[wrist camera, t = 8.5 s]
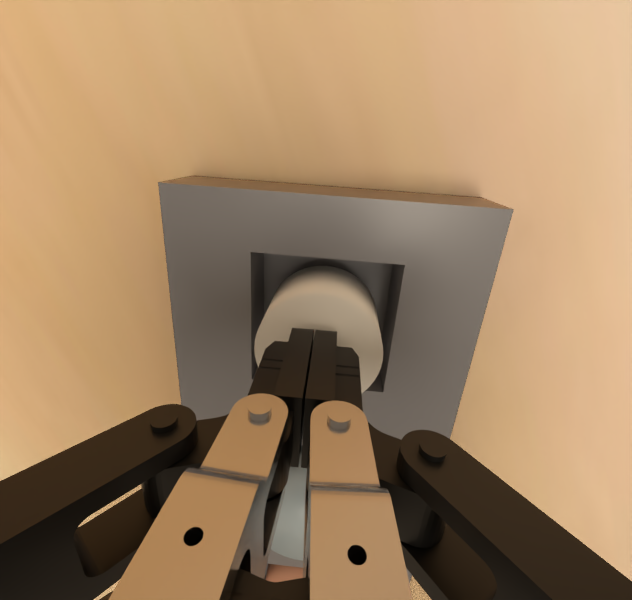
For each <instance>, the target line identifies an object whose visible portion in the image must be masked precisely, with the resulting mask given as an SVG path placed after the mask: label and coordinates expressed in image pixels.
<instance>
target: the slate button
mask: <svg viewBox="0 0 632 600" xmlns="http://www.w3.org/2000/svg"><path fill="white" fill-rule="evenodd" d="M301 458H302V445H301V452H300V460H299V467H290V470H289V476H288V481H287V484H286V486H285V495H284V499H283V503H282V507H281V511H280V515H279V519H278V523H277V527H276V530H275V534H274V538H273V542H272V546H271V550H273V551H275V552H276V553H278V554H280V555H283V556H285V557H288V558H291V559H295V560H301V561H303V548H304V511H305V489H306V475H307V468H301Z"/></svg>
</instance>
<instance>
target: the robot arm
mask: <svg viewBox="0 0 632 600" xmlns="http://www.w3.org/2000/svg"><path fill="white" fill-rule="evenodd" d="M313 338H314V343H313ZM302 438H303V441H302ZM301 445H302V458H301V468H307V475H306V489H305V511H304V548H303V578H299V579H293V580H287V581H282V582H270V581H267V580H265V579H264V577H265V571H266V566H267V562H268V558H269V554H270V550H271V546H272V542H273V538H274V534H275V530H276V527H277V523H278V519H279V515H280V511H281V507H282V503H283V499H284V495H285V486H286V484H287V481H288V476H289V470H290V467H299V460H300V452H301ZM140 484H141V486H142V489H140V490H139V491H137V492H135V493H134V494H132V495H131V496H129V497H127V498H126V499H124V500H123V501H121V502H119V503H118V504H116V505H115V506H113V507H111V508H110V509H108V510H106V511H105V512H103V513H102V514H100V515H98V516H97V517H95V518H94V519H92V520H90V521H89V522H87V523H86V524H84V525H82V526H80V527H78V526H79V525H80V524H81V522H82V521H83V520H84V519H86V518H87V517H88V516H90V515H91V514H93V513H94V512H96V511H98V510H99V509H101V508H102V507H104V506H106V505H107V504H109V503H111V502H112V501H114V500H116V499H117V498H119V497H120V496H122V495H124V494H125V493H127V492H129V491H130V490H132V489H134V488H135V487H137V486H138V485H140ZM77 527H78V528H77ZM406 568H407V569H408V571H409V572H410V573H411V574H412V576H413V577H414V578H415V579H416V581H417V582H418V583H419V584H420V586H421V587H422V588H423V589H424V590H425V592H426V593H427V594H428V595H429V597H430V598H431V599H432V600H632V581H630V580H629V579H628V578H627V577H625V576H624V575H623V574H621V573H620V572H619V571H618V570H616V569H615V568H614V567H612V566H611V565H610V564H609V563H607V562H606V561H605V560H604V559H602V558H601V557H600V556H598V555H597V554H596V553H595V552H593V551H592V550H591V549H590V548H588V547H587V546H586V545H584V544H583V543H582V542H581V541H579V540H578V539H577V538H575V537H574V536H573V535H572V534H570V533H569V532H568V531H567V530H565V529H564V528H563V527H561V526H560V525H559V524H558V523H556V522H555V521H554V520H553V519H551V518H550V517H549V516H547V515H546V514H545V513H544V512H542V511H541V510H540V509H538V508H537V507H536V506H535V505H533V504H532V503H531V502H530V501H528V500H527V499H526V498H524V497H523V496H522V495H521V494H519V493H518V492H517V491H515V490H514V489H513V488H512V487H510V486H509V485H508V484H507V483H505V482H504V481H503V480H501V479H500V478H499V477H498V476H496V475H495V474H494V473H493V472H491V471H490V470H489V469H487V468H486V467H485V466H484V465H482V464H481V463H480V462H478V461H477V460H476V459H475V458H473V457H472V456H471V455H470V454H468V453H467V452H466V451H464V450H463V449H462V448H461V447H459V446H458V445H457V444H455V443H454V442H453V441H452V440H450V439H449V438H447V437H446V436H444V435H442V434H440V433H437V432H434V431H430V430H414V431H411V432H409V433H407V434H406V435H405V436H404V437H403V438H402V440H401V439H398V438H395V437H393V436H390V435H387V434H385V433H383V432H381V431H379V430H377V429H376V428H374V427H373V426H372V425H371V424H370V423H369V422H368V421H367V418H366V416H365V414H364V413H363V407H362V392H361V378H360V364H359V356H358V355H357V354H356V352H355V351H354V350H353V348H350V347H339V346H337V331H326V330H315V337H314V329H302V328H292V330H291V333H290V337H289V340H288V342H283V341H274V342H273V343H272V344H270V345H269V346H268V347H267V348H265V351H264V354H263V356H262V360H261V361H260V364H259V368H258V369H257V372H256V374H255V377H254V380H253V382H252V385H251V388H250V390H249V393H248V395H247V396H246V397H244V398H242V399H240V400H239V401H237V402H236V403H235V405H234V406H233V407H232V409H231V411H230V413H229V414H227V415H225V416H221V417H216V418H210V419H203V420H196V415H195V413H194V412H193V411H192V410H191V409H190V408H188V407H186V406H183V405H178V404H168V405H162V406H158V407H155V408H153V409H150V410H148V411H146V412H144V413H142V414H140V415H138V416H136V417H134V418H132V419H130V420H127V421H125V422H123V423H121V424H119V425H117V426H115V427H113V428H111V429H109V430H107V431H104V432H102V433H100V434H98V435H96V436H94V437H92V438H90V439H88V440H86V441H84V442H81V443H79V444H77V445H75V446H73V447H71V448H69V449H67V450H65V451H63V452H61V453H58V454H56V455H54V456H52V457H50V458H48V459H46V460H44V461H42V462H40V463H37V464H35V465H33V466H31V467H29V468H27V469H25V470H23V471H21V472H19V473H17V474H14V475H12V476H10V477H8V478H6V479H4V480H2V481H0V600H93V599H95V598H96V597H97V596H99V595H100V594H101V593H102V592H104V591H105V590H106V589H108V588H109V587H110V586H112V585H113V584H114V583H116V582H117V581H118V580H119V579H120V581H119V583H118V584H117V586H116V588H115V589H114V591H112V592H110V593H109V594H107V595H106V596H104V597H103V598H101V599H100V600H413V598H412V593H411V589H410V584H409V579H408V575H407V570H406Z"/></svg>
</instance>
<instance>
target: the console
mask: <svg viewBox="0 0 632 600" xmlns="http://www.w3.org/2000/svg"><path fill="white" fill-rule="evenodd" d="M158 185H159V195H160V204H161V214H162V223H163V233H164V243H165V252H166V262H167V271H168V281H169V290H170V300H171V309H172V319H173V329H174V338H175V348H176V357H177V367H178V376H179V386H180V395H181V405H183V406H186V407H188V408H190V409H191V410H192V411H193V412H194V413H195V415H196V420H203V419H210V418H216V417H221V416H225V415H227V414H229V413H230V411H231V409H232V407H233V406H234V405H235V403H236V402H237V401H239V400H240V399H242V398H244V397H246V396H247V395H248V393H249V390H250V388H251V385H252V382H253V380H254V377H255V374H256V372H257V369H258V365H257V362H256V358H255V351H254V345H255V338H256V334H257V331H258V328H259V326H260V324H261V322H262V320H263V318H264V316H265V314H266V311H267V309H268V307H269V305H270V303H271V301H272V299H273V297H274V295H275V293H276V291H277V289H278V288H279V286H280V285H281V284H282V282H284V281H285V280H286V279H287V278H288V277H289V276H291V275H292V274H294V273H295V272H297V271H299V270H302V269H305V268H308V267H312V266H331V267H336V268H340V269H343V270H345V271H347V272H349V273H351V274H353V275H354V276H356V277H357V278H358V279H360V280H361V281H362V282H363V283H364V284H365V286H366V287H367V288H368V290H369V291H370V293H371V295H372V297H373V300H374V303H375V307H376V312H377V317H378V323H379V328H380V333H381V339H382V344H383V361H382V365H381V369H380V371H379V374H378V375H377V377H376V379H375V381H374V382H373V383H372V384H371V386H370V387H369V388H368V389H366V390H365V391H364V392H363V393H362V407H363V413H364V414H365V416H366V418H367V421H368V422H369V423H370V424H371V425H372V426H373V427H374V428H376V429H377V430H379V431H381V432H383V433H385V434H387V435H390V436H393V437H395V438H398V439H401V440H402V438H403V437H404V436H405V435H406V434H407V433H409V432H411V431H414V430H430V431H434V432H437V433H440V434H442V435H444V436H446V437H447V438H449V439H450V436H451V433H452V429H453V425H454V422H455V418H456V415H457V411H458V407H459V404H460V400H461V397H462V393H463V389H464V386H465V382H466V379H467V375H468V371H469V368H470V364H471V361H472V357H473V353H474V350H475V346H476V343H477V339H478V335H479V332H480V328H481V325H482V321H483V317H484V314H485V310H486V307H487V303H488V299H489V296H490V292H491V289H492V285H493V281H494V278H495V274H496V271H497V267H498V263H499V260H500V256H501V253H502V249H503V245H504V242H505V238H506V235H507V231H508V227H509V224H510V220H511V217H512V213H513V209H511V208H508V207H505V206H503V205H500V204H497V203H495V202H492V201H489V200H487V199H484V198H479V197H466V196H453V195H440V194H426V193H413V192H400V191H387V190H373V189H360V188H347V187H333V186H320V185H307V184H294V183H280V182H267V181H254V180H241V179H227V178H214V177H201V176H189V177H184V178H178V179H173V180H168V181H163V182H158ZM302 441H303V438H302ZM268 564H275V565H283V566H292V567H300V568H303V561H301V560H295V559H291V558H288V557H285V556H283V555H280V554H278V553H276V552H275V551H273V550H270V554H269V558H268V562H267V566H266V571H265V577H264V579H266V574H267V568H268ZM406 570H407V575H408V579H409V584H410V580H411V577H412V574H411V573H410V572H409V571H408V569H407V568H406Z"/></svg>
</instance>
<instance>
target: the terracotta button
mask: <svg viewBox="0 0 632 600" xmlns="http://www.w3.org/2000/svg"><path fill="white" fill-rule="evenodd" d="M299 578H303V568H300V567H292V566H283V565H275V564H268V568H267V574H266V579H265V580H267V581H270V582H282V581H287V580H293V579H299Z"/></svg>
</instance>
